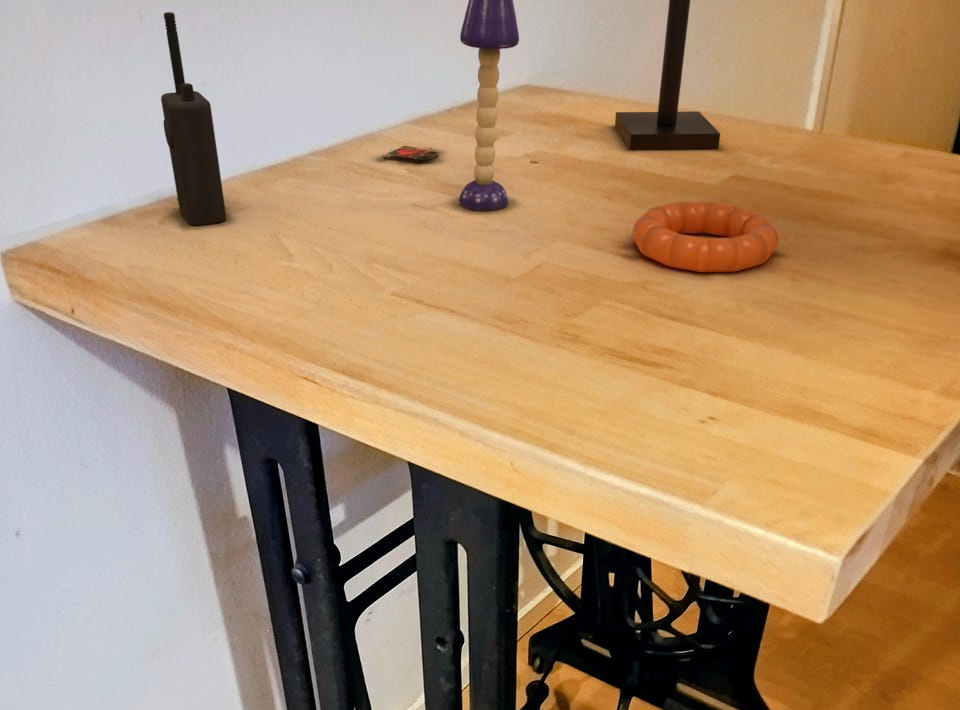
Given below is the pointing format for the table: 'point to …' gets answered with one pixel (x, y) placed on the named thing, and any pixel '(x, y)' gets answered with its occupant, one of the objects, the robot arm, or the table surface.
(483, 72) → the toy lamp
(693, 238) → the ring
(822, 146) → the table surface
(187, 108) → the walkie-talkie
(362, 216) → the table surface
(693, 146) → the stand
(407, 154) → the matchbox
